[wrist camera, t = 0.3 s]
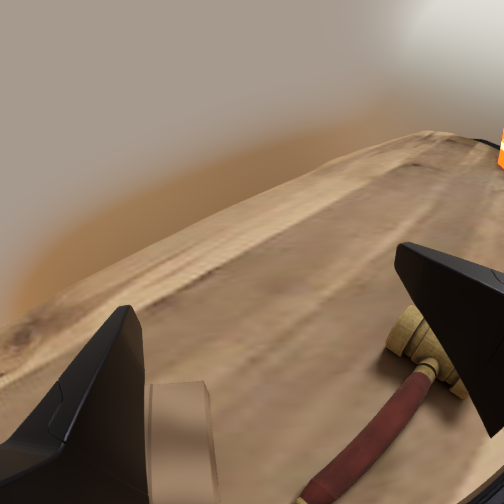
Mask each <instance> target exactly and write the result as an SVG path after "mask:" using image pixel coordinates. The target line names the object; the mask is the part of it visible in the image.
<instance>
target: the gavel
mask: <svg viewBox="0 0 504 504" xmlns="http://www.w3.org/2000/svg"><path fill="white" fill-rule="evenodd" d="M386 347H387V348H388V349H389V350H391V351H392V352H394V353H395V354H397V355H398V356H400V357H401V356H402V355H403V354H406V355H407V356H409V357H410V358H411V360H412V361H413V362H415V363H416V364H418V365H417V367H416V369H415V370H414V372H413V373H412V374H411V375H410V376H409V377H408V378H407V379H406V380H405V381H404V382H403V383H402V384H401V385H400V387H399V388H398V389H397V390H396V392H395V393H394V394H393V396H392V397H391V398H390V399H389V400H388V402H387V403H386V404H385V405H384V406H383V408H382V409H381V410H380V411H379V412H378V414H377V415H376V416H375V417H374V418H373V419H372V420H371V421H370V423H369V424H368V425H367V426H366V427H365V428H364V429H363V430H362V431H361V432H360V433H359V434H358V436H357V437H356V438H355V439H354V440H353V441H352V442H351V443H350V444H349V445H348V446H347V447H346V448H345V449H344V450H343V451H342V452H341V453H340V454H339V455H338V456H337V457H335V458H334V459H333V460H332V461H331V462H330V463H329V464H328V465H327V466H326V467H325V468H324V469H322V470H321V471H320V472H319V473H318V474H317V475H316V476H314V477H313V478H312V479H311V480H310V481H309V483H308V485H307V486H306V488H305V489H304V491H303V492H302V494H301V495H300V497H299V498H297V499H296V501H295V502H296V504H329V503H331V502H333V501H335V500H336V499H337V498H339V497H340V496H341V495H342V494H343V493H344V492H345V491H346V490H347V489H348V488H349V487H350V486H351V485H352V484H353V483H355V482H356V481H357V480H358V479H359V478H360V477H361V476H362V475H363V473H364V472H365V471H366V470H367V469H368V468H369V467H370V466H371V465H372V464H373V463H374V462H375V461H376V460H377V459H378V457H379V456H380V455H381V454H382V453H383V452H384V451H385V449H386V448H387V447H388V446H389V445H390V444H391V442H392V441H393V440H394V439H395V438H396V436H397V435H398V434H399V433H400V431H401V430H402V429H403V428H404V426H405V425H406V424H407V422H408V421H409V420H410V418H411V417H412V416H413V414H414V413H415V412H416V410H417V409H418V407H419V406H420V404H421V403H422V402H423V400H424V399H425V397H426V395H427V393H428V391H429V388H430V386H431V384H432V383H433V381H434V380H435V378H436V377H437V378H438V379H440V380H441V381H446V382H447V383H449V384H450V385H451V386H450V388H449V390H450V391H451V392H453V393H454V394H455V395H457V396H458V397H460V398H461V399H465V398H467V397H469V394H468V392H467V390H466V388H465V386H464V384H463V382H462V380H461V379H460V377H459V375H458V373H457V371H456V370H455V368H454V366H453V364H452V363H451V361H450V359H449V358H448V356H447V354H446V353H445V351H444V349H443V348H442V346H441V344H440V343H439V341H438V339H437V338H436V336H435V335H434V333H433V331H432V330H431V328H430V327H429V325H428V324H427V322H426V321H425V319H424V317H423V316H422V314H421V313H420V311H419V310H418V309H417V308H415V307H414V306H412V305H411V306H409V307H407V308H406V309H405V311H404V312H403V313H402V314H401V316H400V317H399V319H398V320H397V322H396V323H395V325H394V327H393V328H392V330H391V332H390V334H389V336H388V338H387V340H386Z"/></svg>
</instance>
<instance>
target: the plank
mask: <svg viewBox="0 0 504 504" xmlns="http://www.w3.org/2000/svg"><path fill="white" fill-rule="evenodd" d="M144 421H145V452H146V470H147V483H148V495H149V502H150V504H221V501H220V494H219V486H218V478H217V470H216V461H215V452H214V442H213V432H212V421H211V409H210V397H209V392H208V390H207V388H206V386H205V383H204V381H195V382H184V383H170V384H150V385H145V389H144Z"/></svg>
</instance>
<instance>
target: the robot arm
mask: <svg viewBox="0 0 504 504" xmlns="http://www.w3.org/2000/svg"><path fill="white" fill-rule="evenodd" d="M394 267H395V270H396V272H397V274H398V276H399V277H400V279H401V281H402V283H403V284H404V286H405V288H406V290H407V291H408V293H409V295H410V297H411V299H412V300H413V302H414V304H415V305H416V307H417V308H418V310H419V311H420V313H421V314H422V316H423V317H424V319H425V321H426V322H427V324H428V325H429V327H430V328H431V330H432V331H433V333H434V335H435V336H436V338H437V339H438V341H439V343H440V344H441V346H442V348H443V349H444V351H445V353H446V354H447V356H448V358H449V359H450V361H451V363H452V364H453V366H454V368H455V370H456V371H457V373H458V375H459V377H460V379H461V380H462V382H463V384H464V386H465V388H466V390H467V392H468V394H469V396H470V398H471V400H472V402H473V404H474V405H475V407H476V409H477V412H478V414H479V416H480V418H481V420H482V422H483V424H484V426H485V428H486V430H487V433H488V435H489V436H490V438H492V437H493V436H494V435H496V434H497V433H498V432H499V431H500V430H501V429H502V428H503V427H504V273H502V272H499V271H496V270H493V269H490V268H487V267H485V266H482V265H479V264H476V263H473V262H470V261H467V260H464V259H461V258H458V257H455V256H452V255H449V254H446V253H443V252H440V251H437V250H434V249H430V248H427V247H424V246H421V245H418V244H414V243H411V242H404V243H400V244H398V246H397V249H396V256H395V262H394ZM144 389H145V369H144V356H143V341H142V328H141V325H140V322H139V320H138V318H137V316H136V314H135V312H134V310H133V308H132V306H131V305H124V306H119V307H118V308H117V309H116V310H115V311H114V312H113V313H112V314H111V316H110V317H109V318H108V319H107V320H106V321H105V322H104V324H103V325H102V326H101V327H100V328H99V330H98V331H97V332H96V333H95V334H94V335H93V337H92V338H91V339H90V340H89V341H88V343H87V344H86V345H85V346H84V348H83V349H82V350H81V351H80V352H79V354H78V355H77V356H76V357H75V359H74V360H73V361H72V362H71V364H70V365H69V366H68V367H67V369H66V370H65V371H64V372H63V374H62V375H61V376H60V377H59V379H58V381H56V383H55V384H54V385H53V386H52V388H51V389H50V390H49V392H48V393H47V394H46V395H45V397H44V398H43V399H42V400H41V402H40V403H39V404H38V405H37V406H36V408H35V409H34V410H33V411H32V412H31V413H30V415H29V416H28V417H27V418H26V419H25V420H24V421H23V423H22V424H21V425H20V426H19V427H18V428H17V430H16V431H15V432H14V433H13V434H12V436H11V437H10V438H9V439H8V440H6V441H5V442H4V443H2V444H0V504H150V502H149V495H148V483H147V470H146V452H145V421H144ZM457 504H504V465H503V466H502V467H501V468H500V469H499V470H498V471H497V472H496V473H495V474H494V475H492V476H491V477H490V478H489V479H488V480H487V481H486V482H484V483H483V484H482V485H481V486H480V487H478V488H477V489H476V490H475V491H473V492H472V493H471V494H470V495H468V496H467V497H466V498H464V499H463V500H462V501H460V502H459V503H457Z"/></svg>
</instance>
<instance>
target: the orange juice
mask: <svg viewBox="0 0 504 504" xmlns="http://www.w3.org/2000/svg"><path fill="white" fill-rule="evenodd" d="M498 164H499V165H500V166H501V167H502V168H503V169H504V130H503V137H502V143H501V149H500V155H499V160H498Z"/></svg>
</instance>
